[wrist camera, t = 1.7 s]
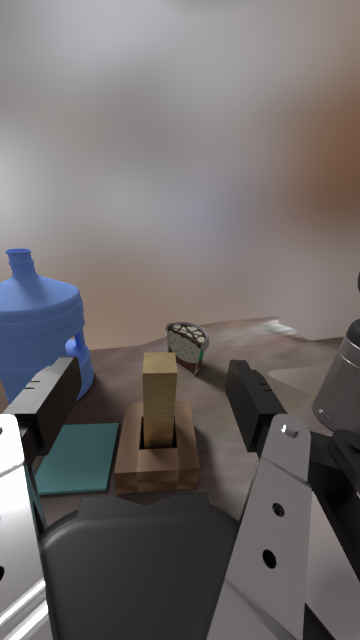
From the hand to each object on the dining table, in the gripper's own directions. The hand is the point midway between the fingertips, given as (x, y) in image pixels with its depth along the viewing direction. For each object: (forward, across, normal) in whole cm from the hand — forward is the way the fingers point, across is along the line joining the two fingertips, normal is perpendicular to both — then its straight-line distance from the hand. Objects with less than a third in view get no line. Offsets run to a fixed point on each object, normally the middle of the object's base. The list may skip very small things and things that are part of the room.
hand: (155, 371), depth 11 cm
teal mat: (+13, +12, +26) cm, 32 cm away
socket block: (+13, 0, +26) cm, 29 cm away
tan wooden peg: (+13, 0, +26) cm, 29 cm away
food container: (+36, -8, +26) cm, 45 cm away
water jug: (+28, +22, +26) cm, 44 cm away
